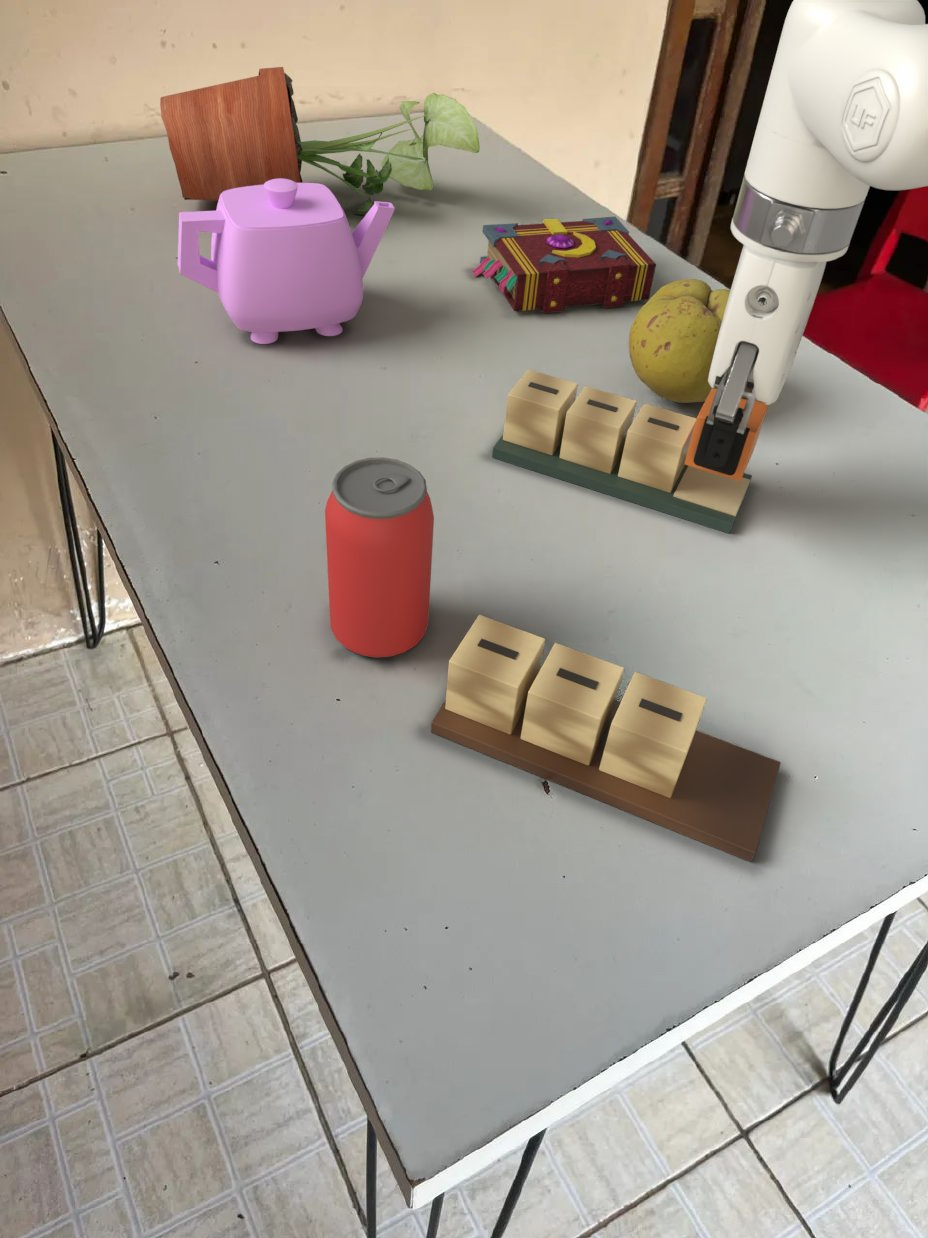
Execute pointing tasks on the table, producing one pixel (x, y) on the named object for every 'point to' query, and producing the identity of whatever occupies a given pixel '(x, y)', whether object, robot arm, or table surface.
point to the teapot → (282, 256)
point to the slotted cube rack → (614, 449)
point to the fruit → (678, 339)
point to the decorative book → (566, 264)
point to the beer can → (379, 556)
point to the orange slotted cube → (755, 427)
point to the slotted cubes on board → (604, 736)
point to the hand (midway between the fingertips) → (722, 448)
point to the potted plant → (292, 139)
